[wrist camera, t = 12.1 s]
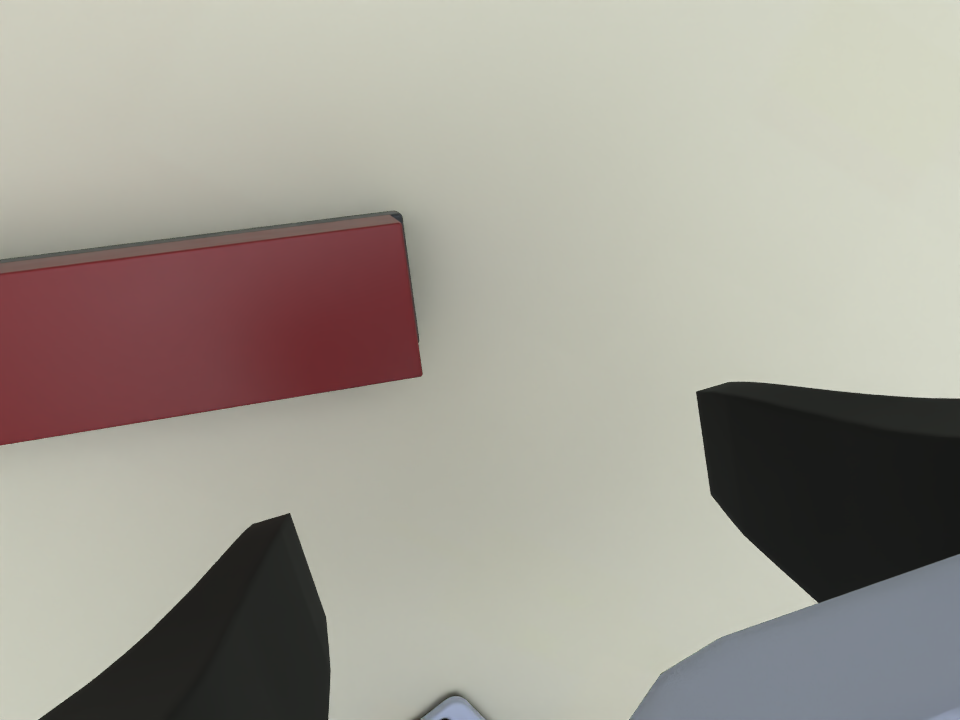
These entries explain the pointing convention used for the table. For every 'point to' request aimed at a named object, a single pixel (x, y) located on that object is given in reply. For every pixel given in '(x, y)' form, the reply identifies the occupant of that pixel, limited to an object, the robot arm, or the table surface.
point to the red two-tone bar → (203, 323)
